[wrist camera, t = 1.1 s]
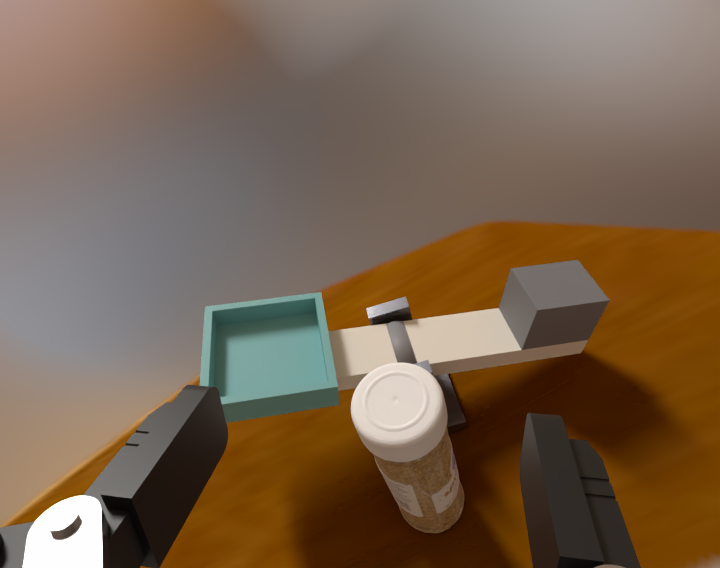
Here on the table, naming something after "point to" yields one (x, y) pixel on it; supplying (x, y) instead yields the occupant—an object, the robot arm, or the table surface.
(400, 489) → the sprinkles bottle
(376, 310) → the pivot stand
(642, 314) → the table surface
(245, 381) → the beam
